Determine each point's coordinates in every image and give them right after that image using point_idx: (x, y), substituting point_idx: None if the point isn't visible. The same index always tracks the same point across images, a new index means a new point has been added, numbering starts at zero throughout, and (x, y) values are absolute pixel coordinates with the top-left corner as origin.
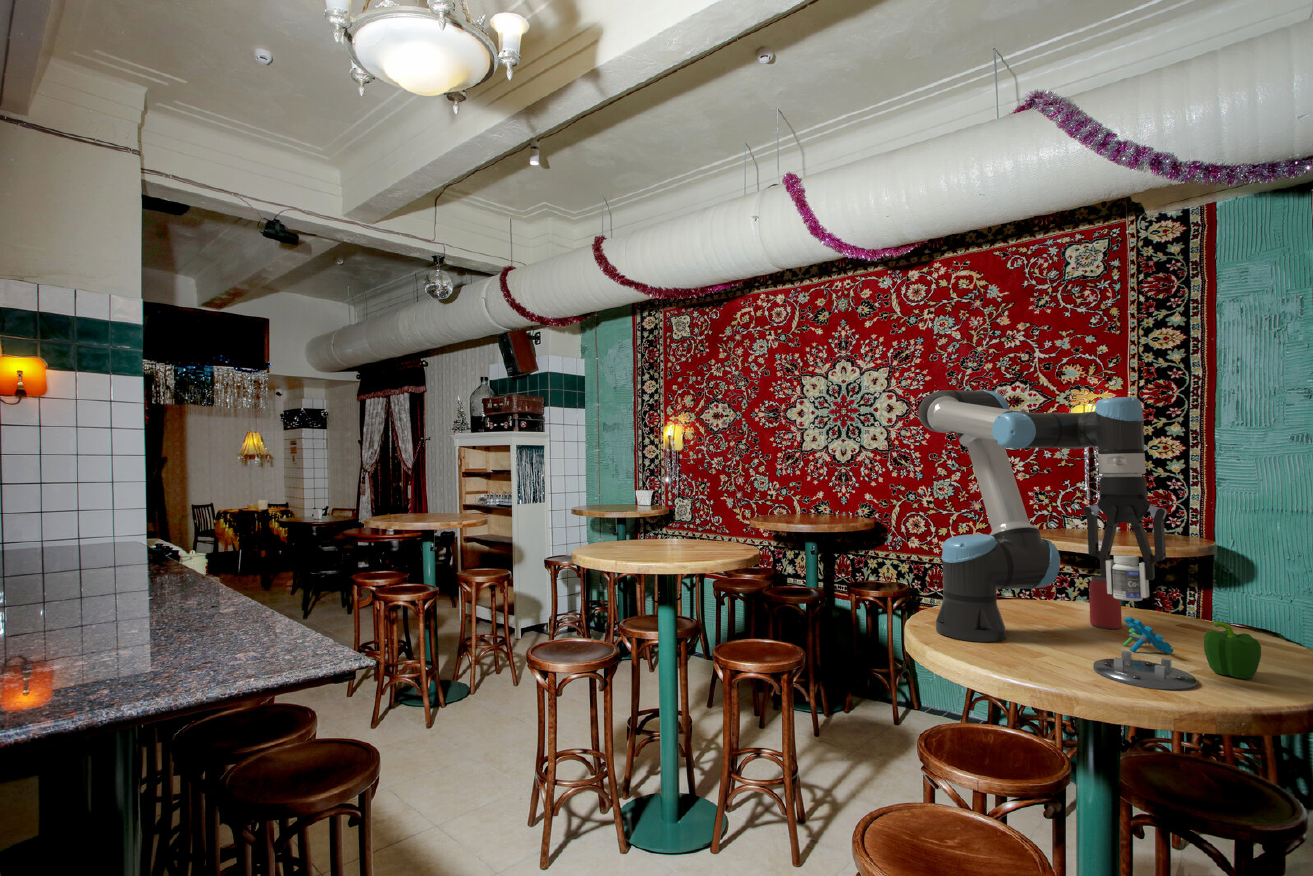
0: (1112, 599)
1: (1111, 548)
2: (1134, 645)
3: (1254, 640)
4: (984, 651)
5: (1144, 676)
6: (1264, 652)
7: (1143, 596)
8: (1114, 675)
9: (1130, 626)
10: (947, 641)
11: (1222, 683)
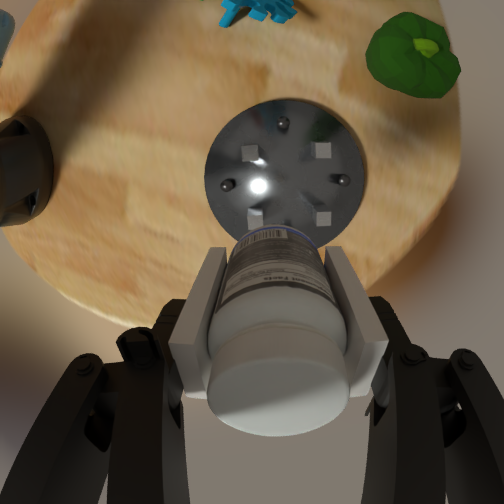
0: None
1: (162, 413)
2: (226, 18)
3: (459, 73)
4: (74, 245)
5: (295, 214)
6: None
7: None
8: None
9: None
10: (32, 237)
11: (388, 129)
